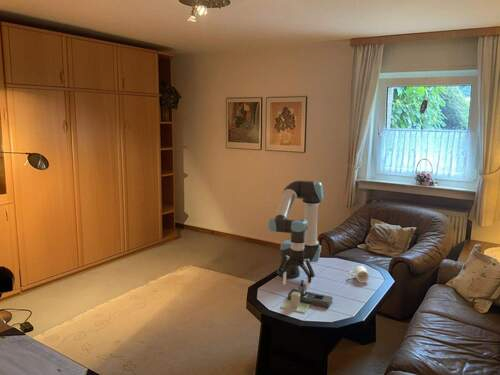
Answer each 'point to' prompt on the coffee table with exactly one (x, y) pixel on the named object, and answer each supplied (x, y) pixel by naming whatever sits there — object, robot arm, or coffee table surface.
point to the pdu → (311, 297)
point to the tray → (301, 309)
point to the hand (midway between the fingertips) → (295, 286)
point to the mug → (360, 274)
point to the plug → (295, 300)
